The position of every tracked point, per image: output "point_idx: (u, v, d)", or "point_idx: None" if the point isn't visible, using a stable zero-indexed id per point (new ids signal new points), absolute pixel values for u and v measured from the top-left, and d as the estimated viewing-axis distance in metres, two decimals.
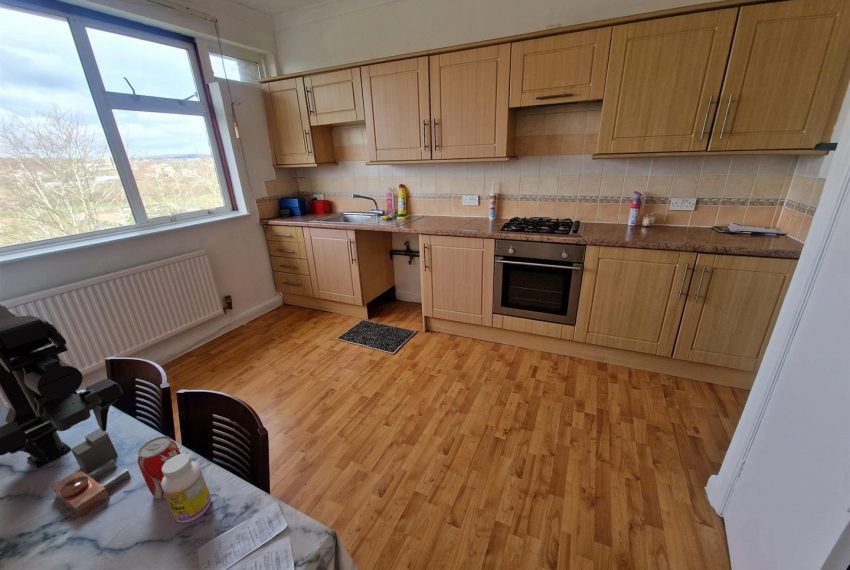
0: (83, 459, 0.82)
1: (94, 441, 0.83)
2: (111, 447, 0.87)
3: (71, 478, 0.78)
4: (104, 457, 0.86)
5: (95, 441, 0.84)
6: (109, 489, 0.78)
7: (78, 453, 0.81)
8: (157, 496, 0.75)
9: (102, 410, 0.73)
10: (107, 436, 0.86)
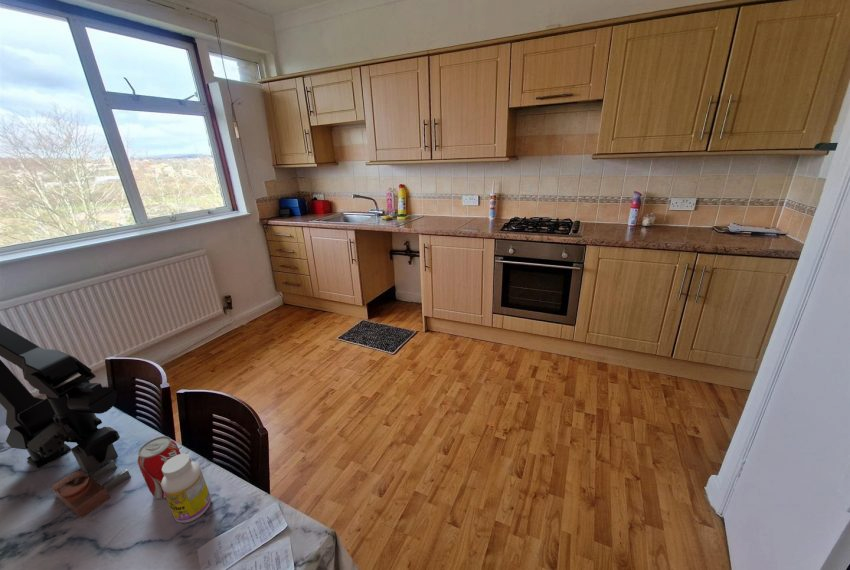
0: (83, 458, 0.82)
1: None
2: (111, 447, 0.87)
3: (71, 478, 0.78)
4: None
5: None
6: (109, 489, 0.78)
7: (78, 453, 0.81)
8: (157, 496, 0.75)
9: None
10: None
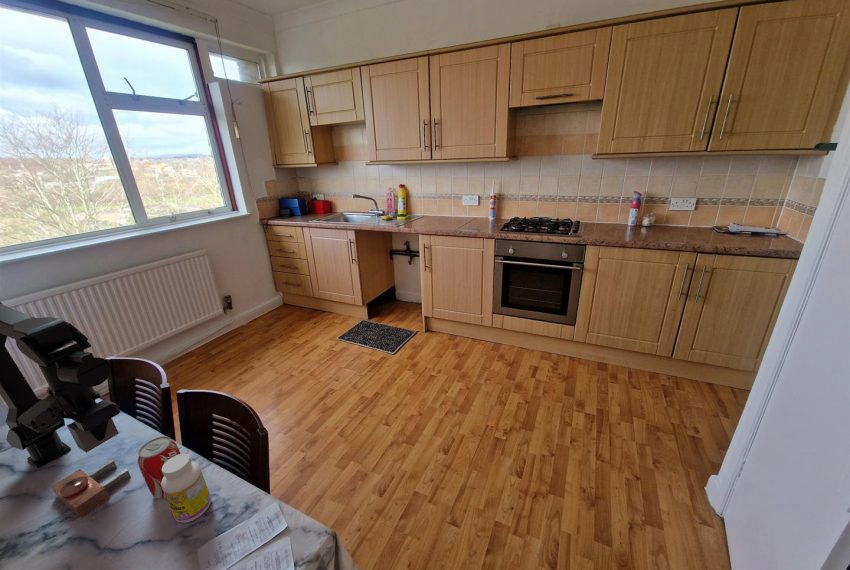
0: (81, 435, 0.74)
1: None
2: (111, 424, 0.79)
3: (71, 478, 0.78)
4: None
5: None
6: (109, 489, 0.78)
7: (75, 429, 0.74)
8: (157, 496, 0.75)
9: None
10: None
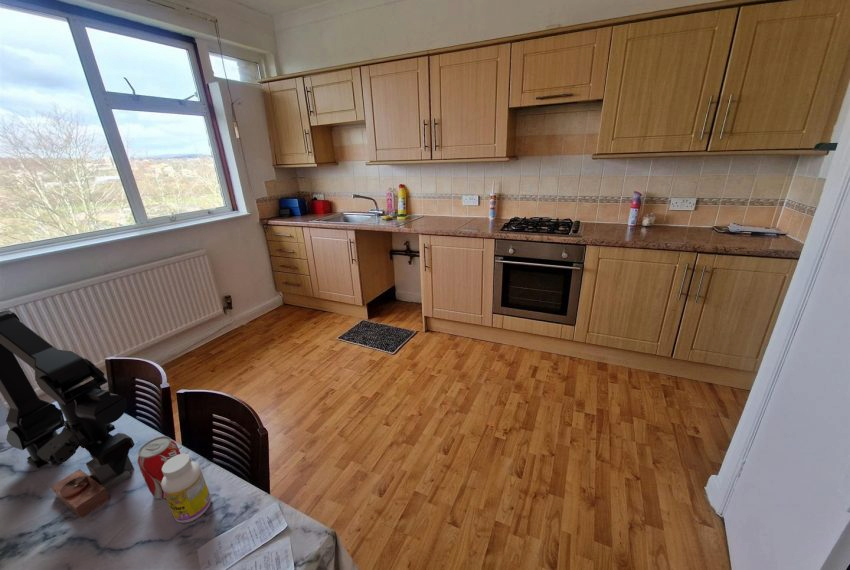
0: (99, 474, 0.78)
1: None
2: (127, 461, 0.82)
3: (71, 478, 0.78)
4: None
5: None
6: (109, 489, 0.78)
7: (94, 468, 0.77)
8: (157, 496, 0.75)
9: None
10: None
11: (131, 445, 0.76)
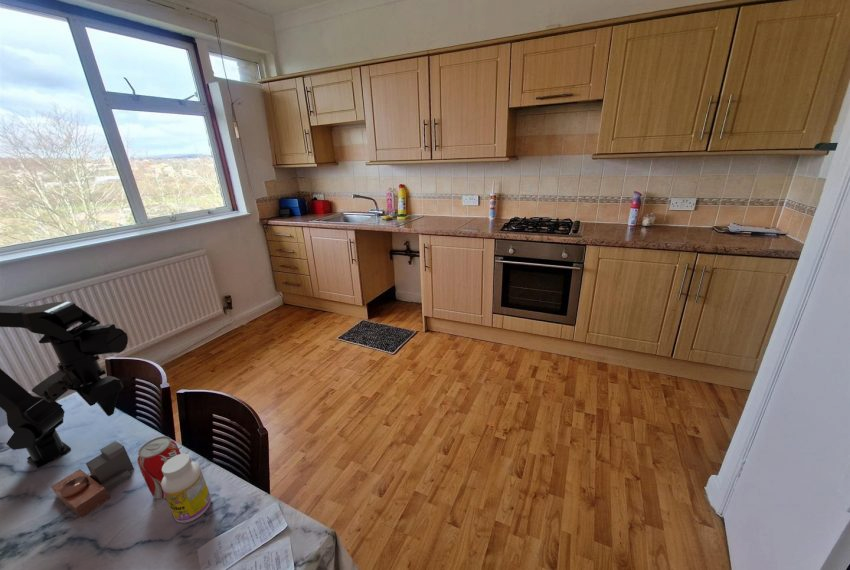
0: (99, 474, 0.78)
1: (110, 455, 0.79)
2: (127, 461, 0.82)
3: (71, 478, 0.78)
4: None
5: (111, 455, 0.79)
6: (109, 489, 0.78)
7: (94, 468, 0.77)
8: (157, 496, 0.75)
9: None
10: (123, 449, 0.81)
11: (120, 386, 0.82)
